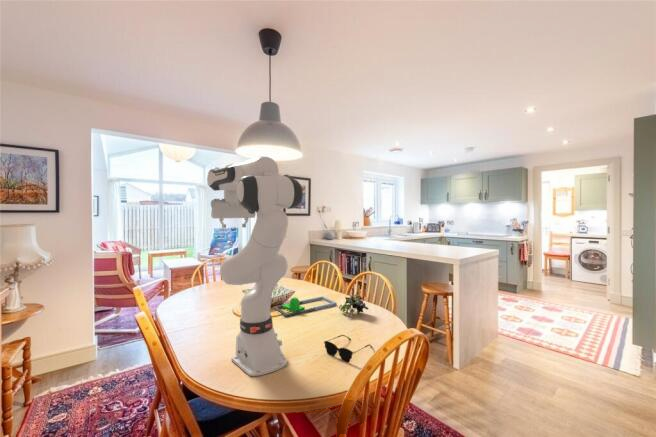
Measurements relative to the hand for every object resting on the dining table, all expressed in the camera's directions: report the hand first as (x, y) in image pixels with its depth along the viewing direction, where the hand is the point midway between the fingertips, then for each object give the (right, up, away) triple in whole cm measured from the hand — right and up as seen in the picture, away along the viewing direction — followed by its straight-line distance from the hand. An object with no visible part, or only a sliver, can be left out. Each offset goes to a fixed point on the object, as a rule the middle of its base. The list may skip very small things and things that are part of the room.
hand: (234, 227), depth 132 cm
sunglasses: (+54, -49, -22) cm, 76 cm away
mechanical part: (+25, -48, +24) cm, 59 cm away
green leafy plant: (+59, -48, +16) cm, 77 cm away
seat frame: (+26, -47, +24) cm, 59 cm away
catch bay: (+39, -47, +33) cm, 69 cm away
